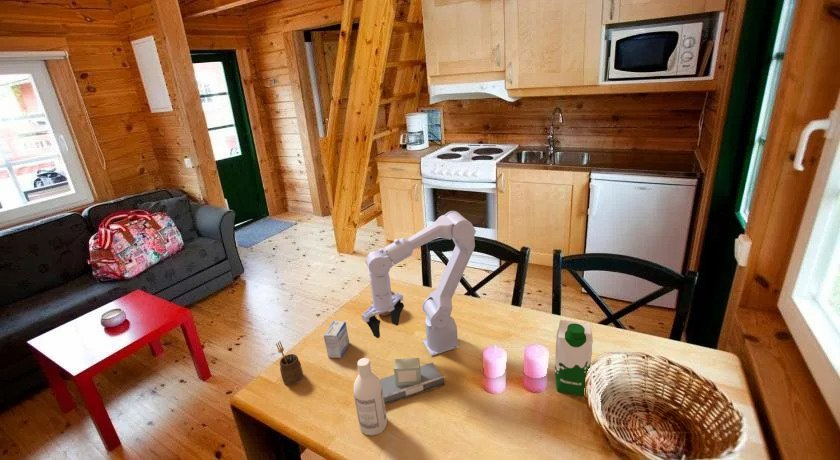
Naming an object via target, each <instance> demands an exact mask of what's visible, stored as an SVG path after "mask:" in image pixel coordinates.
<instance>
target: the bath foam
mask: <svg viewBox="0 0 840 460" xmlns="http://www.w3.org/2000/svg"><path fill="white" fill-rule="evenodd" d="M356 365H357V370H358V375H357V376H356V379H355V381H354V383H353V391H352V392H353V397H354V403H355V409H356V415H357V419H358V425H359V429H360V431H361V432H362V433H363V434H365V435H367V436H376V435H378V434H381V432H384V430H385V429H386V427H387V423H388V419H387V411H386V405H385V404H384V397H383V390H382V385H381V382H380V380H379V379H380V378H379V377H378V375H376V374H375V373H374V372H373V371H372V367H371V361H370V359H369V358H367V357H362V358H360V359H358V361H357V363H356Z"/></svg>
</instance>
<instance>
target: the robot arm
mask: <svg viewBox="0 0 840 460" xmlns="http://www.w3.org/2000/svg"><path fill="white" fill-rule="evenodd" d="M476 233H477V230H476V229H475V227H474V225H473V223H472V222H471V221H469V220H468V219H466V218H465V216H463V215H461V213H460V212H458V211H456V210H450V211H448V212H446V213H445V214H442V215H440V216H439V217H438V218H437V219H436V220H435V221H434V222H432V223H431V224H428V226H427V225H426V227H424V228H422V229H421V230H419V231H418V232H417V233H415V234H413V235H412V236H410V237H409V238H406V237H405V238H403V237H401V238H395V239H393V242H391V243H390V244H388V245H386V246H384V247H383V248H382V247H381V248H379V249H378V250H373V251H370V252H369V253H368V254H367V255H366V257H365V261H364V262H365V264H366V266H367V269H368V277H369V278H368V279H369V286H370V292H371V299H372V300H371V302H372V301H373V304H372V303H371V305H370V306H369V307H368V308H367V310H365V312H363V313H361V319H362V321H363V322H365V323H366V324H367V326H368V327H369V328H370V332H372V333H371V334H372V335H373V337H374V338H377V339H379V338H380V337H381V332H380V324H381V320H380V319H378V318H377V316H378V315H380V313H383V312H386V311H388V312H390V314H389V315H390V318H391V323H392V325H395V326H399V324H400V323H399V322H400V319H401V318H400V317H401V315H402V311H403V309H404V307H405V303H403V302H402V301H404V294H402V293H400V292H397V293H395V295H392V294H391V291H392V287H391V280H390V274H389V272H390V270H391V269H392V268H393V266H396V265H397V264H399V263H401V262H403V261H404V260H405V259H408V258H410V257H412V255H413V253H414V250H415V249H417V248H420V247H422V246H423V245H426V244H427V243H430V242H432V241H434V240H436V239H439V238H441V239H446V240H452V241H453V243H454V245H455V246H454V248H453V251H451V252H452V253H451V256H450V257H449V260H448V262H447V265H446V266H445V269H444V271H443V272H442V275H441V277H440V280H439V282H438V284H437V287H436V289H435V290H433V291H431V292H430V293H429V296H427V298H426V299H425V300H424V301H423V303H422V311H423V312H424V314H425V315H426V317H425V320H424V322H425V323H424V325H425V331H426V332H425V335H426V336H425V337H426V339H423V340H422V343H423V345H424V347H425V348H426V349H427V351H428V352H429V354H430V356H435V355H439V354H442V353H445V352H447V351H452V350H455V349H459V347H460V345H459V342H458V341H459V339H458V326H457V324H456V323H457V322H456V321H455V319H454V318H453V316H451V313H452V311H453V301H452V299H453V297H454V294H455V292H456V289H457V288H458V286H459V283H460V281H461V280H462V277H463V274H464V273H465V270H466V268H467V266H468V264H469V261H470V259H471V257H472V255H473V253H474V250H475V247H476V243H475V238H476V237H475V234H476Z"/></svg>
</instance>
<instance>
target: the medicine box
mask: <svg viewBox="0 0 840 460" xmlns="http://www.w3.org/2000/svg"><path fill="white" fill-rule="evenodd" d="M323 339H324V345H325V348H326V352H327V357H328V358H334V359H341V358H342V357H343V355H344V353H345V351H346V349H347V348H348V346H349V344H350V338H349V333H348V328H347V322H346V321H341V320H333V321H332V323H331V325H330V326H329V328H327V330H326V332H325V333H324V335H323Z"/></svg>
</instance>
